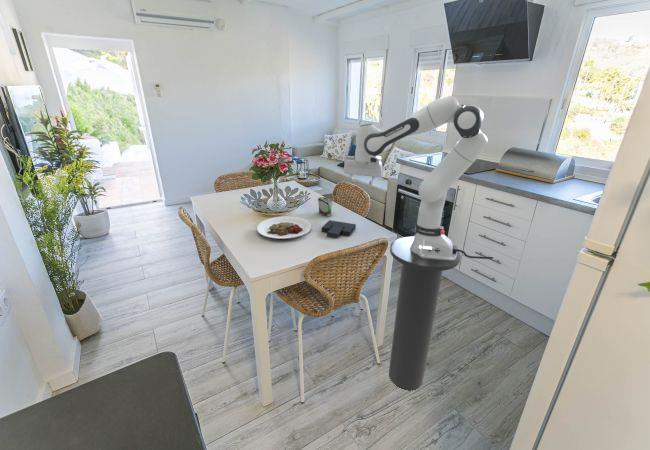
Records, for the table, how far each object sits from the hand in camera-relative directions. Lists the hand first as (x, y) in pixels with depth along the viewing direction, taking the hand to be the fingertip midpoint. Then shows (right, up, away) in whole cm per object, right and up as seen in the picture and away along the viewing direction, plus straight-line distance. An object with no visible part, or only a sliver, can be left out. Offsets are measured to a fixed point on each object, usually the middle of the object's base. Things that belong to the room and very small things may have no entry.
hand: (362, 183), depth 165 cm
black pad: (-12, -24, +11) cm, 29 cm away
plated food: (-42, -24, +10) cm, 50 cm away
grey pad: (-14, -27, +6) cm, 31 cm away
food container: (-18, -15, +34) cm, 42 cm away
